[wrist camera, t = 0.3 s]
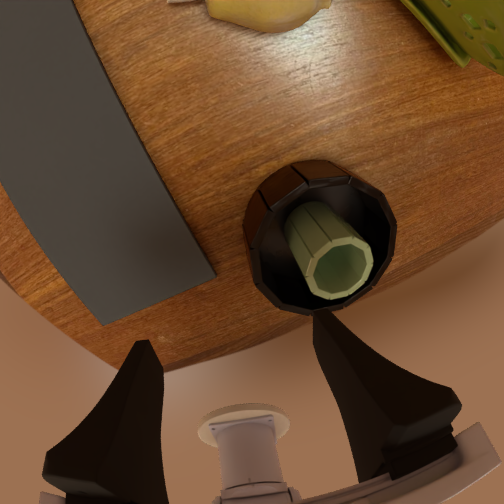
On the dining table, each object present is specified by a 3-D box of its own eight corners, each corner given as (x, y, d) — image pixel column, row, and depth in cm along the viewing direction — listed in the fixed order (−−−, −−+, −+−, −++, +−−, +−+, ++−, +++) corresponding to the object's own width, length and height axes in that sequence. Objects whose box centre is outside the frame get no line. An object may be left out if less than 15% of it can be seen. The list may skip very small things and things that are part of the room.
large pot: (364, 268, 26) (386, 298, 23) (251, 290, 26) (259, 326, 22) (369, 154, 21) (401, 170, 17) (234, 170, 21) (240, 189, 17)
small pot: (338, 247, 24) (370, 290, 19) (284, 257, 24) (305, 305, 19) (338, 197, 22) (376, 231, 17) (280, 205, 22) (304, 244, 17)
